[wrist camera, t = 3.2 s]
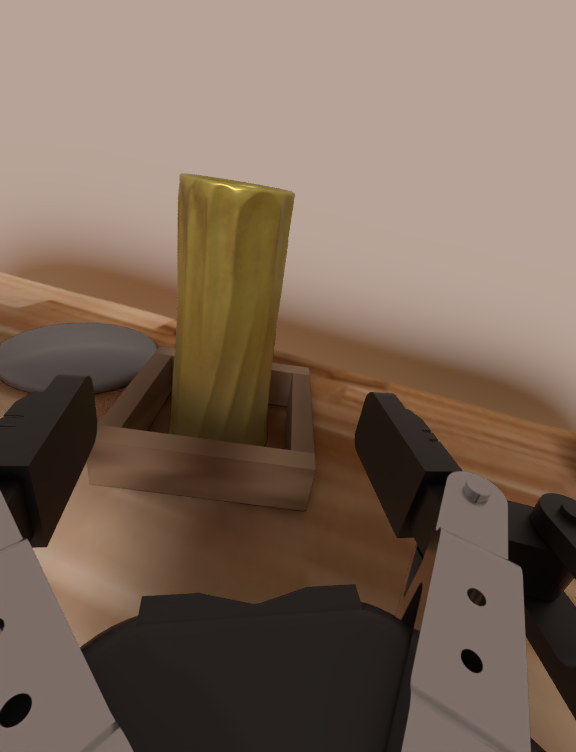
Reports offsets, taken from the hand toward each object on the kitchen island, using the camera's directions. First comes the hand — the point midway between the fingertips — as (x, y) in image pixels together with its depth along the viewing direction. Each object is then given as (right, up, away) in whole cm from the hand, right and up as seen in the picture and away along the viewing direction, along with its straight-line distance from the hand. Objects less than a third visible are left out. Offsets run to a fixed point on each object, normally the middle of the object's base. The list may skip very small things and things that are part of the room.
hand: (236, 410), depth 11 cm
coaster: (-15, +2, +18) cm, 23 cm away
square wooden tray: (-3, -3, +13) cm, 13 cm away
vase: (-3, -3, +13) cm, 13 cm away
